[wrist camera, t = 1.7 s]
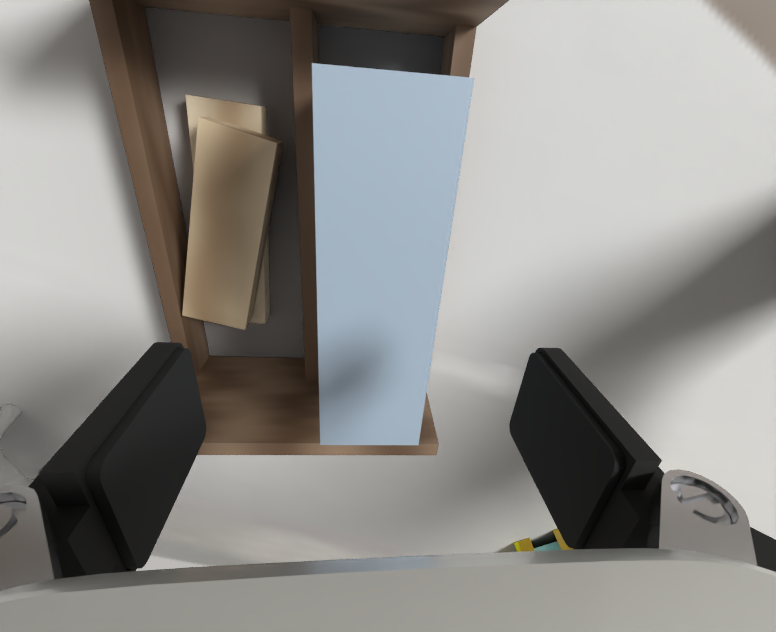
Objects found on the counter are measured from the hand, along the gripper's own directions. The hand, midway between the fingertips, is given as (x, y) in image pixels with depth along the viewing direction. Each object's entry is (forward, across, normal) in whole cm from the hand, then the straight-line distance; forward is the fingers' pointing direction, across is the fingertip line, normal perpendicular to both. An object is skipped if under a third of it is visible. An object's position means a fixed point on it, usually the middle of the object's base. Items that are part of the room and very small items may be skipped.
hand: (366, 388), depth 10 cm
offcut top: (+16, +8, 0) cm, 18 cm away
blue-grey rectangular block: (+17, -1, 0) cm, 17 cm away
